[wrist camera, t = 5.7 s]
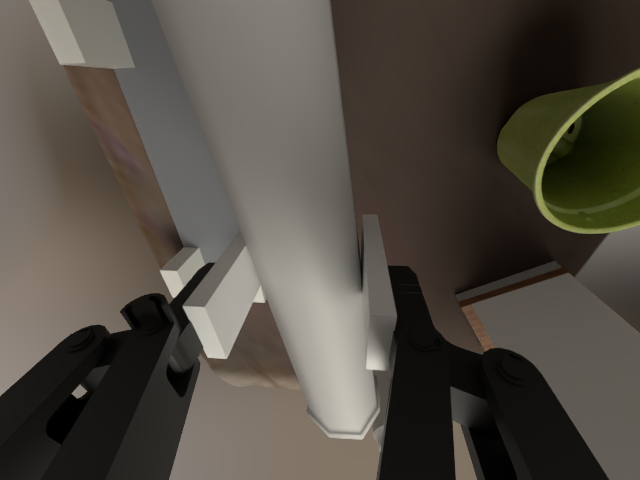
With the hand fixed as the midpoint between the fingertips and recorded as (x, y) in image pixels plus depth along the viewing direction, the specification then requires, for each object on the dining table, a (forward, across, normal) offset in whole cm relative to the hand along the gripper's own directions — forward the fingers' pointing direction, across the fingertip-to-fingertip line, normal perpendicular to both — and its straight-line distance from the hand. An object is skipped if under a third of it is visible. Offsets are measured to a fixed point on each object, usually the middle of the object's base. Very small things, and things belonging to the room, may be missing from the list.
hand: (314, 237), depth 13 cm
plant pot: (+13, +17, +3) cm, 22 cm away
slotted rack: (+13, -13, 0) cm, 18 cm away
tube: (+1, 0, 0) cm, 1 cm away
